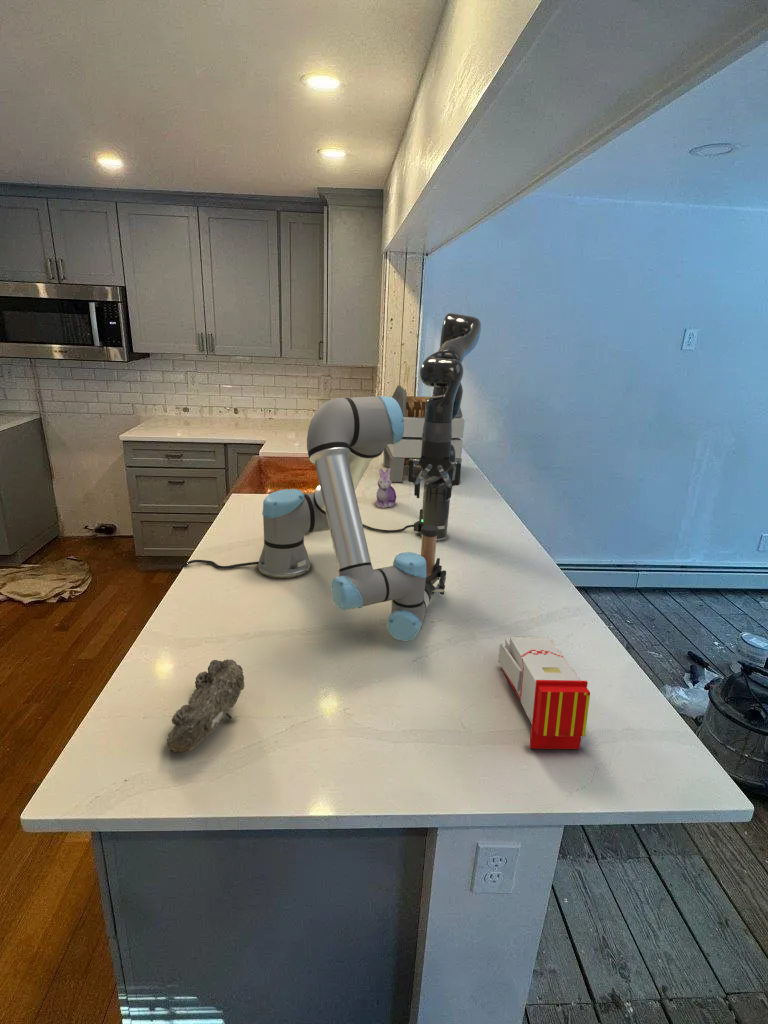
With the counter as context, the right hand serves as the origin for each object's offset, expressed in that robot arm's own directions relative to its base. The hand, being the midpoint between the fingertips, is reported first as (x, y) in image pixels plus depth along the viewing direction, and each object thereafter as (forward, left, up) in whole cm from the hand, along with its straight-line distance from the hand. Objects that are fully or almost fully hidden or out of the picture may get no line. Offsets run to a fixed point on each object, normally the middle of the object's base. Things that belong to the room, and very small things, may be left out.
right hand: (432, 498), depth 152 cm
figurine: (-51, +52, -27) cm, 78 cm away
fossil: (-4, -71, -27) cm, 77 cm away
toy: (+43, -28, -27) cm, 58 cm away
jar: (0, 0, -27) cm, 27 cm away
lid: (0, 0, -9) cm, 9 cm away
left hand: (-2, +5, -21) cm, 22 cm away
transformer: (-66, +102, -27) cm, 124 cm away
